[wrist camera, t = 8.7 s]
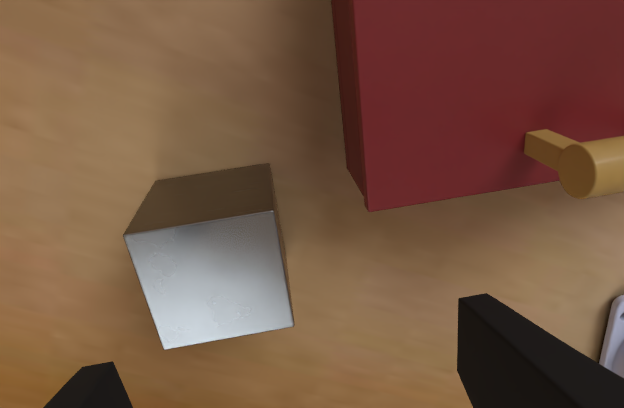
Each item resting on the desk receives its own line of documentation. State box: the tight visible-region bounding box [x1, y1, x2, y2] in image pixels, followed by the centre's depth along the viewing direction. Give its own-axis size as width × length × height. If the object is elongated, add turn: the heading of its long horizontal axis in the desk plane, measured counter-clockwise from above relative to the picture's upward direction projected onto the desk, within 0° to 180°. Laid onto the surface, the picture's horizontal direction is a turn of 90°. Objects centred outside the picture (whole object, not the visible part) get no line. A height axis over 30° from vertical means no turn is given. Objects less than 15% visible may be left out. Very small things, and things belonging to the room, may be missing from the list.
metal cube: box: [123, 163, 294, 350], centre depth 15 cm, size 4×4×4 cm
